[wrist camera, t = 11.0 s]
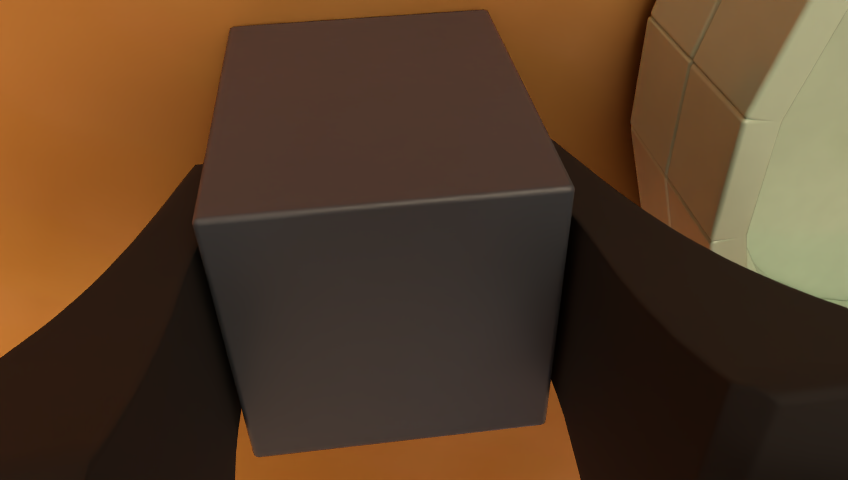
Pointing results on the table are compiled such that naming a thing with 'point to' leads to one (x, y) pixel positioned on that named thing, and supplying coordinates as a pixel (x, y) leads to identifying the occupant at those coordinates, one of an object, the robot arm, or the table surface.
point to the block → (381, 231)
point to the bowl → (749, 134)
